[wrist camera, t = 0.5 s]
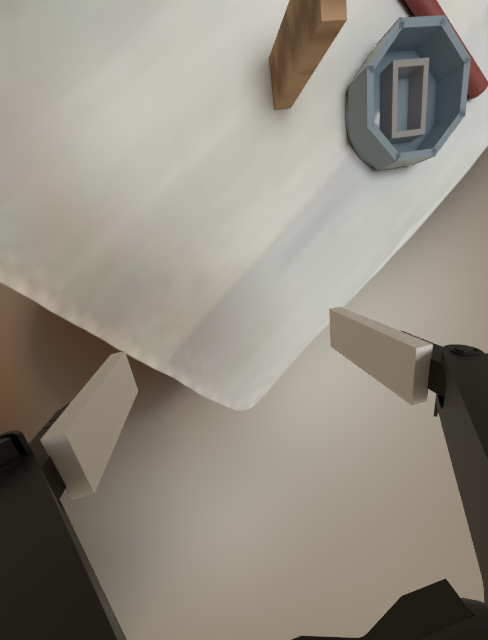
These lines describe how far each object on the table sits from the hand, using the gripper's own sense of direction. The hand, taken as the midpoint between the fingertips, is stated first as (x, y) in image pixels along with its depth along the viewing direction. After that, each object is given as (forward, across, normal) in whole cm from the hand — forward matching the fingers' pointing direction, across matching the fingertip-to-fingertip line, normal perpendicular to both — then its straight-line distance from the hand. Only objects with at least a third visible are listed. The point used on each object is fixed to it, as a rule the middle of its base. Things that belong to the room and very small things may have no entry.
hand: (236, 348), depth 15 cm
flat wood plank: (+27, +15, +27) cm, 41 cm away
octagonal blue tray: (+27, +33, +22) cm, 48 cm away
